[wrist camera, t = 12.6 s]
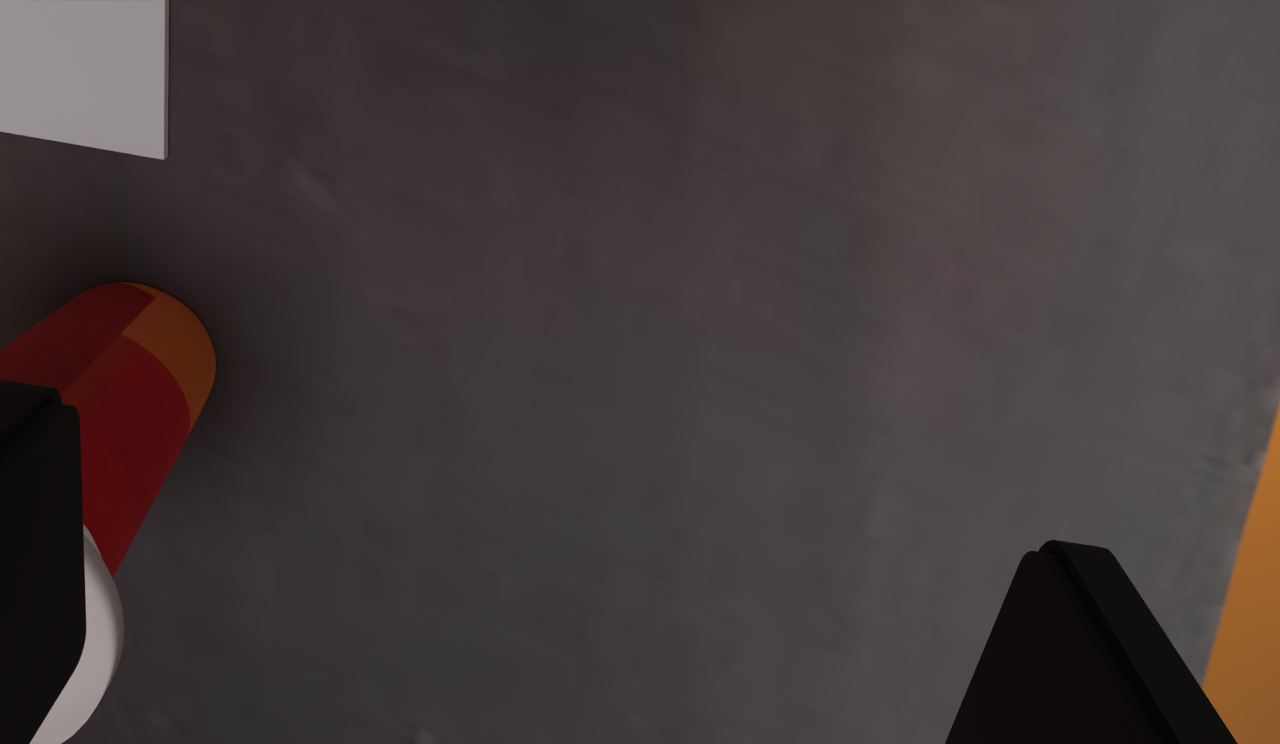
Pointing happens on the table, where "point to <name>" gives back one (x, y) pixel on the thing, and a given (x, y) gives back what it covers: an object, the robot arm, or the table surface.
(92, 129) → the mat
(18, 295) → the table surface
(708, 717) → the table surface
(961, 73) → the table surface
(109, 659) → the lid
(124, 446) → the coffee cup
